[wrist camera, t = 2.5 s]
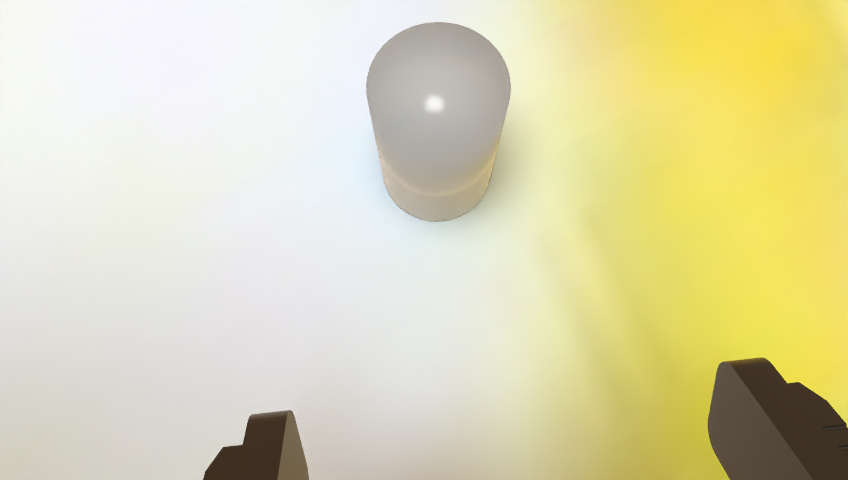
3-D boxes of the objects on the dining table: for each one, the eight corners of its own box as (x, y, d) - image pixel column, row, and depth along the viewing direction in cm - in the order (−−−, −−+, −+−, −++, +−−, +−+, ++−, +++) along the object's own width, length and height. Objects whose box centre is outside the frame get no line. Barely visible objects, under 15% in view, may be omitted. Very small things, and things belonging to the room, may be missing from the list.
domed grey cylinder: (388, 227, 28) (373, 160, 20) (378, 126, 29) (360, 30, 21) (497, 215, 28) (520, 144, 20) (482, 115, 29) (499, 15, 22)
